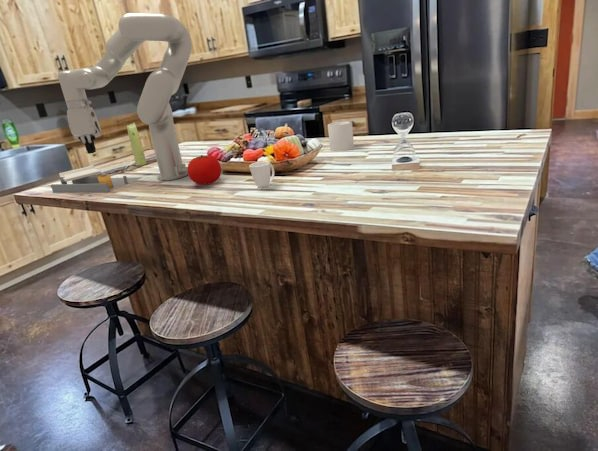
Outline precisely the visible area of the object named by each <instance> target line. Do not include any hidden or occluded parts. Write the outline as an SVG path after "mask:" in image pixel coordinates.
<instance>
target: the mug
mask: <svg viewBox="0 0 598 451" xmlns="http://www.w3.org/2000/svg"><path fill="white" fill-rule="evenodd" d="M327 131H328V140H329V141H328V142H329V150H330V151H332V152H345V151H350V150H352V149H354V148H355V142H354V131H353V121H351V120H344V121H343V120H342V121H335V122H331V123H328V124H327Z"/></svg>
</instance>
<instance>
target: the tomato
mask: <svg viewBox="0 0 598 451" xmlns="http://www.w3.org/2000/svg"><path fill="white" fill-rule="evenodd" d="M187 167H188V175H187V176H188V177H189V179H190V180H191V181H192V182H193V183H195V184H197V185H211V184H214V183H216V182H217V181H218V180H219V179H220V177H221V175H222V166H221V164H220V161H219V160H218V159H217V157H215V156H213V155H209V154H207V155H203V154H200V156H197V157H194V158H193V159H191V160H190V161H189V162H188V165H187Z"/></svg>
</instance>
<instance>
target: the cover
mask: <svg viewBox="0 0 598 451" xmlns="http://www.w3.org/2000/svg"><path fill="white" fill-rule="evenodd" d="M58 174H59V181H60V184H68V182H72V180H76V179H80V178H84V177H93V176H95V175H100V174H102V170H100V169H98V168H96V167H95V165H93V164H92V165H89V166H86V167H84V166H83V167H81V168H80V167H79V168H77V169H73V170H68V171H64V172H59V173H58Z"/></svg>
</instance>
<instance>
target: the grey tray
mask: <svg viewBox="0 0 598 451" xmlns="http://www.w3.org/2000/svg"><path fill="white" fill-rule="evenodd" d="M99 176H100V175H99ZM99 176H88V177H84V178H80V179H76V180H72V181H71V183H67V184H61V183H56V184H55V183H53V184H50V187H51V189H52V193H53V194H54V193H56V194H57V193H59V194H61V193H62V194H63V193H65V194H66V193H68V194H69V193H78V194H79V193H110V192H112V191H114V190H117V189H119V188H122V187H124V186H126V185H128V184H132V183H133V182H135V181H136V182H137V181H138V180H140V179H143V177H141V176H140V177H137V176H136V177H135V176H134V177H127V175H123V176H122V177H111V180H112V183H113V187H112V188H110V189H109V187H108V184H107V183H105V184H99V181H98V178H97V177H99Z"/></svg>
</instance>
